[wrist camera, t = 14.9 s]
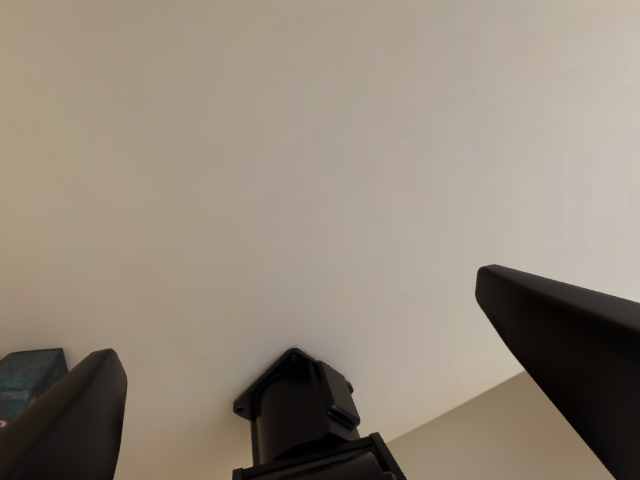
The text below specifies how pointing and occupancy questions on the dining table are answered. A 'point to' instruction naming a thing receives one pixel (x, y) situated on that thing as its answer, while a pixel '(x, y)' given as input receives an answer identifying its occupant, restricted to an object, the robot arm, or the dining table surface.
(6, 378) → the dark green arched piece
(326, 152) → the dining table surface
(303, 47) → the dining table surface
